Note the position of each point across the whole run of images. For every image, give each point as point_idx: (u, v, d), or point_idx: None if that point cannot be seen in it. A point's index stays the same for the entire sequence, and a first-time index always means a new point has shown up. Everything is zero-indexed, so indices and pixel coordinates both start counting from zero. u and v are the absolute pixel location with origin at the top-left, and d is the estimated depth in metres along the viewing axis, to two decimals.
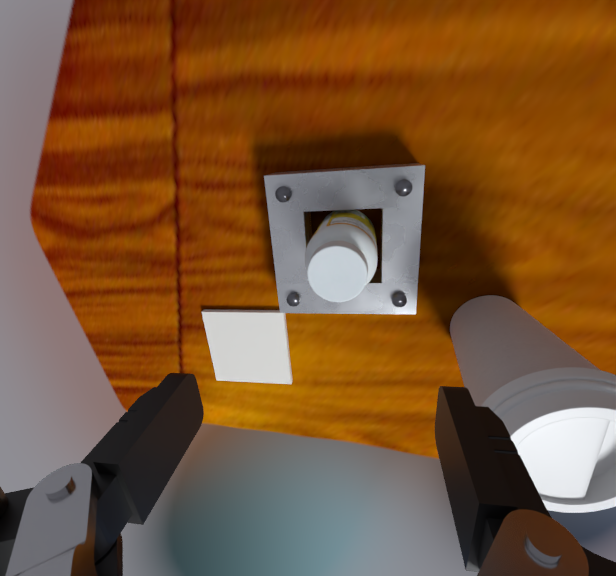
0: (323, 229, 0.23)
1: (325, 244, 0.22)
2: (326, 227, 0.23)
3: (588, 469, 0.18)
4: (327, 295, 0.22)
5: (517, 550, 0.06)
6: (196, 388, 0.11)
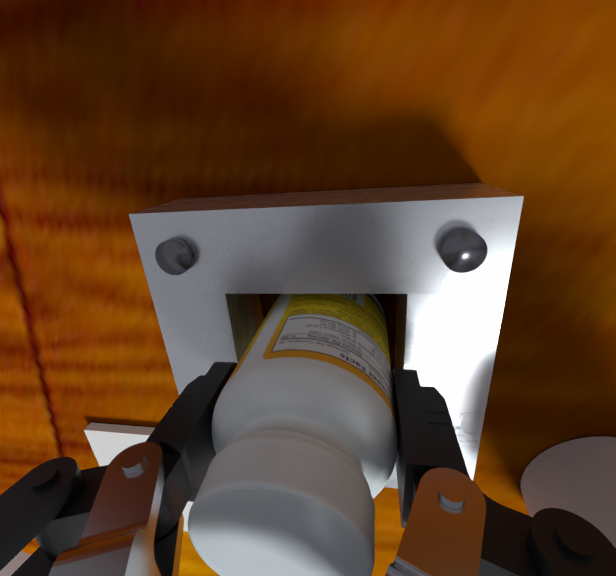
0: (252, 370, 0.09)
1: (241, 453, 0.07)
2: (260, 365, 0.09)
3: None
4: None
5: (432, 504, 0.06)
6: None
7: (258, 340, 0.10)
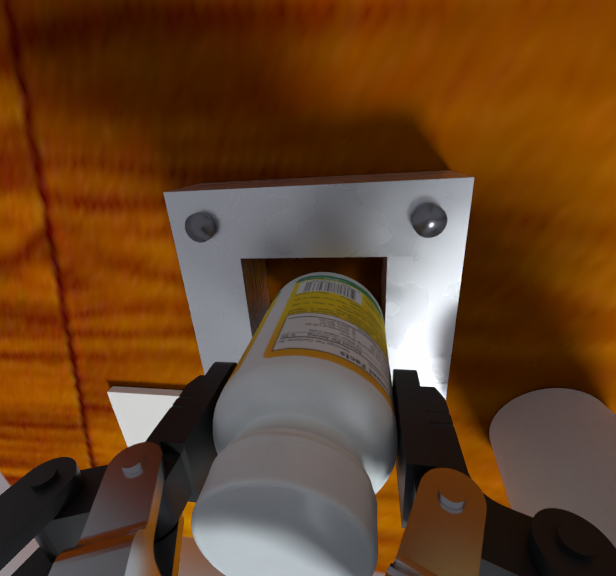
0: (253, 369, 0.09)
1: (244, 450, 0.07)
2: (261, 363, 0.09)
3: None
4: None
5: (432, 505, 0.06)
6: None
7: (258, 339, 0.10)
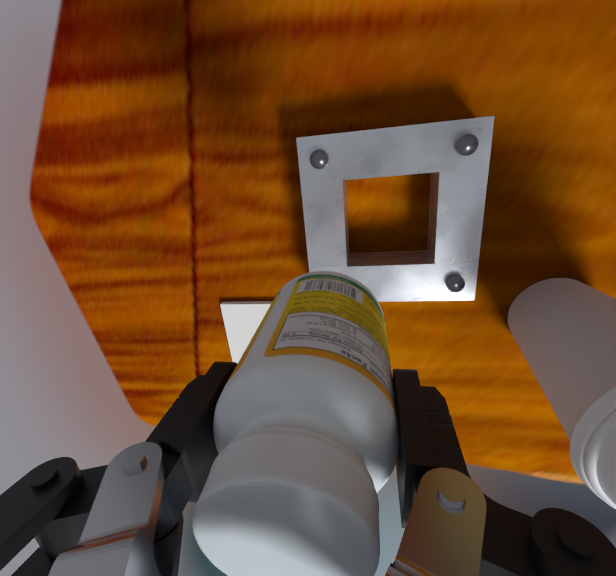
0: (254, 368, 0.09)
1: (246, 449, 0.07)
2: (262, 362, 0.09)
3: None
4: None
5: (432, 505, 0.06)
6: None
7: (258, 338, 0.10)
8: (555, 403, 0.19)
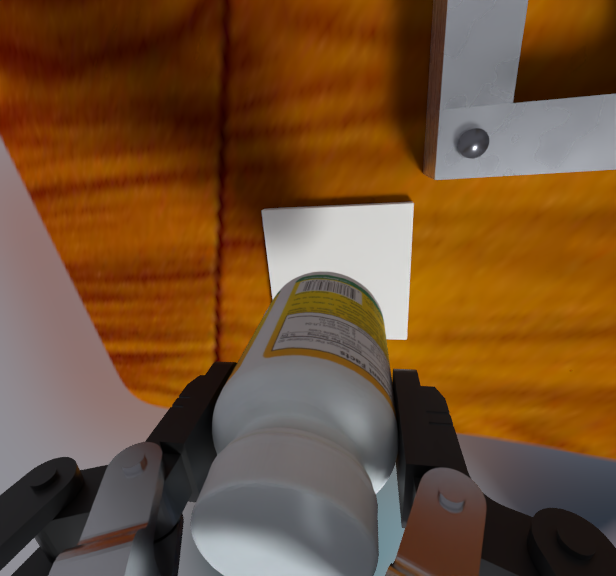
0: (253, 369, 0.09)
1: (244, 451, 0.07)
2: (261, 363, 0.09)
3: None
4: None
5: (432, 505, 0.06)
6: None
7: (257, 339, 0.10)
8: None
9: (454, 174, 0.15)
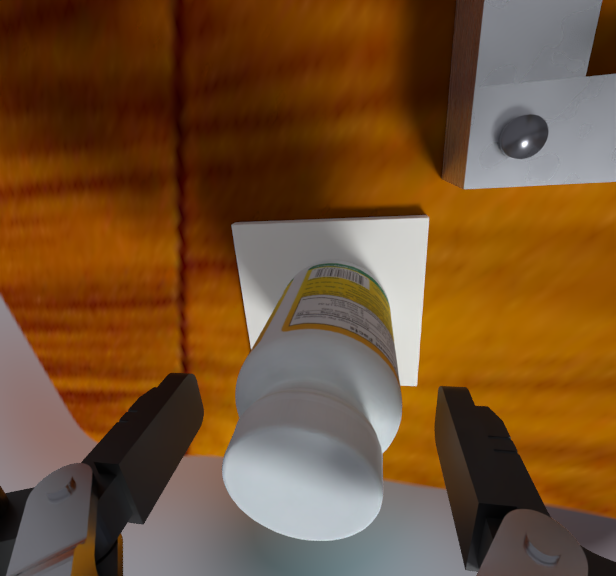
0: (273, 341, 0.10)
1: (268, 405, 0.08)
2: (280, 336, 0.10)
3: None
4: (277, 525, 0.09)
5: (516, 550, 0.06)
6: (196, 388, 0.11)
7: (275, 318, 0.11)
8: None
9: (492, 181, 0.11)
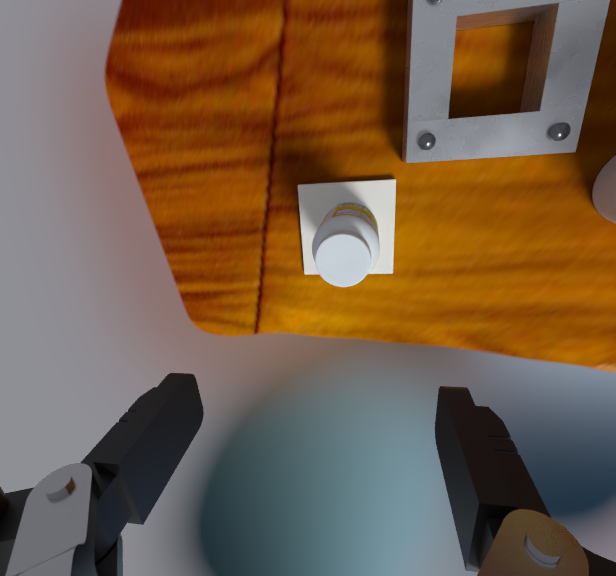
0: (329, 220, 0.25)
1: (331, 233, 0.23)
2: (332, 218, 0.25)
3: None
4: (333, 280, 0.24)
5: (517, 550, 0.06)
6: (196, 388, 0.11)
7: (326, 218, 0.27)
8: None
9: (417, 159, 0.26)
